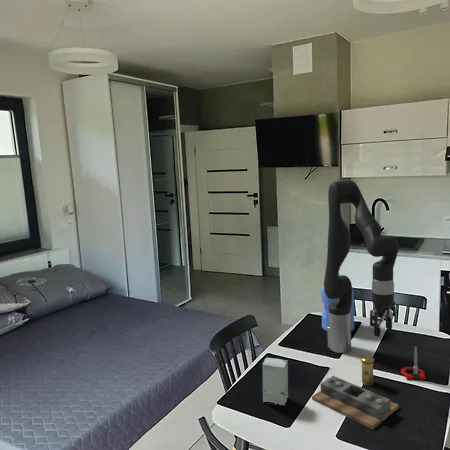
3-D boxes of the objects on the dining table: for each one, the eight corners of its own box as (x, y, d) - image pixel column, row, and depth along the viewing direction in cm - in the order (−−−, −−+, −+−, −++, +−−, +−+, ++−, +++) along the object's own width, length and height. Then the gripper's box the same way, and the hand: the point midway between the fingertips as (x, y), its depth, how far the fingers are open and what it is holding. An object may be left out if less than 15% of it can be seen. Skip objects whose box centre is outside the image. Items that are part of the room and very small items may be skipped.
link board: (312, 399, 150) (311, 385, 150) (338, 382, 160) (338, 369, 160) (372, 429, 132) (372, 414, 131) (398, 407, 142) (398, 393, 141)
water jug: (359, 326, 210) (358, 272, 206) (345, 337, 199) (343, 280, 194) (331, 319, 221) (330, 268, 216) (316, 329, 209) (314, 275, 205)
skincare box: (263, 403, 150) (260, 364, 148) (267, 394, 156) (265, 356, 154) (286, 406, 147) (284, 367, 145) (289, 397, 153) (287, 359, 151)
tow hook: (398, 369, 168) (404, 380, 159) (398, 338, 166) (404, 347, 157) (420, 369, 166) (428, 381, 157) (420, 338, 165) (428, 347, 156)
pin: (358, 382, 159) (357, 358, 157) (365, 378, 162) (365, 354, 160) (369, 387, 155) (369, 362, 154) (376, 382, 158) (376, 358, 157)
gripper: (383, 283, 160) (383, 323, 162) (363, 293, 150) (363, 336, 153) (402, 287, 154) (402, 329, 157) (382, 297, 145) (382, 342, 147)
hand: (383, 332), depth 155 cm, fingers open, 8 cm apart
